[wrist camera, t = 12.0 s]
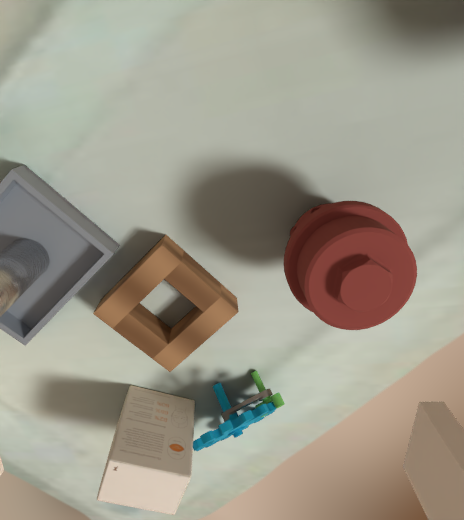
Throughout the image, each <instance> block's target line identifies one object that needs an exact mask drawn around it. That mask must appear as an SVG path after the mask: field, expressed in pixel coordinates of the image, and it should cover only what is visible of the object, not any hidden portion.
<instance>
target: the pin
mask: <svg viewBox="0 0 464 520" xmlns="http://www.w3.org/2000/svg"><path fill="white" fill-rule="evenodd" d="M49 261H50V260H49V255H48V252H47V251H46V249H45V248H44V247H43V246H42V245H41V244H40V243H38V242H36V241H34V240H31V239H25V238H24V239H18V240H16V241H14V242H13V243H11V244H10V245H8V246H7V247H6V248H4V249H3V250H1V251H0V317H1V316H2V315H3V314H4V313H5V312H6V311H7V310H8V309H9V308H10V307H11V306H12V305H13V304H14V303H15V302H16V300H17V299H18V298H19V297H20V296H21V295H22V294H23V293H24V292H25V291H26V290H27V289H28V288H29V287H30V286H31V285H32V284H33V283H34V282H35V281H36V280H37V279H38V278H39V277H40V276H41V275H42V274H43V273H44V272H45V271H46V270H47V268H48V266H49Z"/></svg>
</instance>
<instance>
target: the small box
mask: <svg viewBox="0 0 464 520" xmlns="http://www.w3.org/2000/svg"><path fill="white" fill-rule="evenodd" d="M194 414H195V401H194V400H190V399H186V398H182V397H178V396H174V395H170V394H166V393H162V392H157V391H153V390H149V389H145V388H140V387H136V386H132V385H130V387H129V389H128V392H127V396H126V398H125V401H124V405H123V408H122V411H121V414H120V417H119V421H118V424H117V427H116V431H115V434H114V438H113V441H112V445H111V448H110V452H109V456H108V459H107V463H106V466H105V470H104V473H103V477H102V481H101V485H100V488H99V492H98V496H97V500H98V501H104V502H109V503H114V504H119V505H125V506H130V507H135V508H141V509H146V510H151V511H157V512H161V513H167V514H172V515H174V514H175V512H176V510H177V508H178V506H179V503H180V501H181V499H182V497H183V494H184V492H185V490H186V488H187V485H188V483H189V481H190V478H191V471H192V452H193V434H194Z"/></svg>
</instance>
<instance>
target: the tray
mask: <svg viewBox="0 0 464 520" xmlns="http://www.w3.org/2000/svg"><path fill="white" fill-rule="evenodd" d="M24 238H25V239H31V240H34V241H36V242H38V243H40V244H41V245H42V246H43V247H44V248H45V249H46V251H47V252H48V255H49V260H50V261H49V266H48V268H47V270H46V271H45V272H44V273H43V274H42V275H41V276H40V277H39V278H38V279H37V280H36V281H35V282H34V283H33V284H32V285H31V286H30V287H29V288H28V289H27V290H26V291H25V292H24V293H23V294H22V295H21V296H20V297H19V298H18V299H17V300H16V302H15V303H14V304H13V305H12V306H11V307H10V308H9V309H8V310H7V311H6V312H5V313H4V314H3V315H2V316H1V317H0V329H2V330H3V331H5V332H6V333H8V334H9V335H10V336H12V337H13V338H15V339H16V340H18V341H19V342H21V343H22V344H24V345H26V344H27V343H28V342H29V341H30V340H31V339H32V338H33V337H34V336H35V335H36V334H37V333H38V332H39V331H40V330H41V329H42V328H43V327H44V326H45V325H46V324H47V323H48V322H49V321H50V320H51V318H52V317H53V316H54V315H55V314H56V313H57V312H58V311H59V310H60V309H61V308H62V307H63V306H64V305H65V304H66V303H67V302H68V301H69V300H70V299H71V298H72V297H73V296H74V295H75V294H76V293H77V292H78V291H79V289H80V288H81V287H82V286H83V285H84V284H85V283H86V282H87V281H88V280H89V279H90V278H91V277H92V276H93V275H94V274H95V273H96V272H97V271H98V270H99V269H100V268H101V267H102V266H103V265H104V264H105V263H106V262H107V260H108V259H109V258H110V257H111V256H112V255H113V254H114V253H115V251H116V250H117V248H118V247H119V244H118V243H117V242H116V241H114V240H113V239H112V238H111V237H110V236H109V235H107V234H106V233H105V232H104V231H103V230H101V229H100V228H99V227H98V226H97V225H96V224H94V223H93V222H92V221H91V220H90V219H88V218H87V217H86V216H85V215H84V214H82V213H81V212H80V211H79V210H78V209H77V208H75V207H74V206H73V205H72V204H71V203H69V202H68V201H67V200H66V199H65V198H64V197H62V196H61V195H60V194H59V193H58V192H56V191H55V190H54V189H53V188H52V187H50V186H49V185H48V184H47V183H46V182H45V181H43V180H42V179H41V178H40V177H39V176H37V175H36V174H35V173H34V172H33V171H32V170H30V169H29V168H28V167H27V166H26V165H22V166H20V167H17V168H14V169H11V171H10V172H9V173H8V174H7V176H6V177H5V178H4V179H3V180H2V182H1V183H0V251H1V250H3V249H4V248H6V247H7V246H8V245H10V244H11V243H13V242H14V241H16V240H18V239H24Z"/></svg>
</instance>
